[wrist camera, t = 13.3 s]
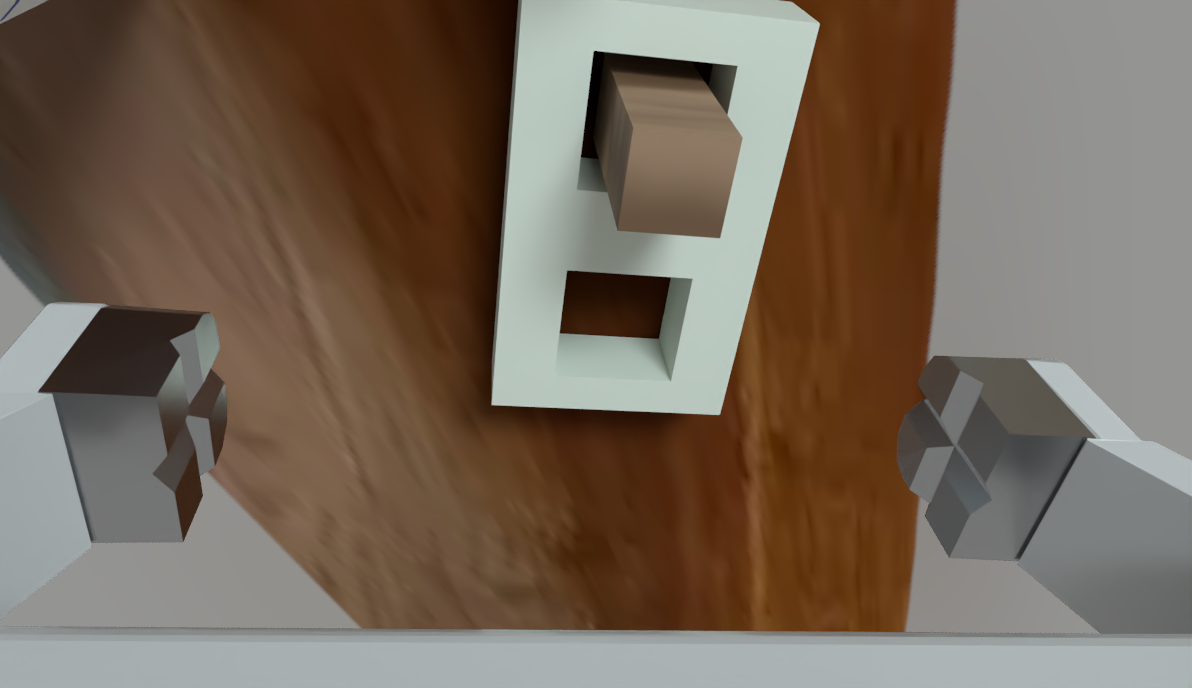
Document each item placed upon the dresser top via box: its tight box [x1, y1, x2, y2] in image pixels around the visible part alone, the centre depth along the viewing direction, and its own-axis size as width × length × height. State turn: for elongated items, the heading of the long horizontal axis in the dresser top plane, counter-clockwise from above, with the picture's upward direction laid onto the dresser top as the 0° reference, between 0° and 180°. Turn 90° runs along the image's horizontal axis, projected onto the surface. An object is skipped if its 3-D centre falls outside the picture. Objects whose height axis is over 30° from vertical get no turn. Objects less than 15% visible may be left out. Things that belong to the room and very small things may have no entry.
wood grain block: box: [593, 52, 743, 238], centre depth 36 cm, size 4×4×10 cm
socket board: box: [492, 0, 820, 415], centre depth 41 cm, size 20×12×4 cm, turn 173°
